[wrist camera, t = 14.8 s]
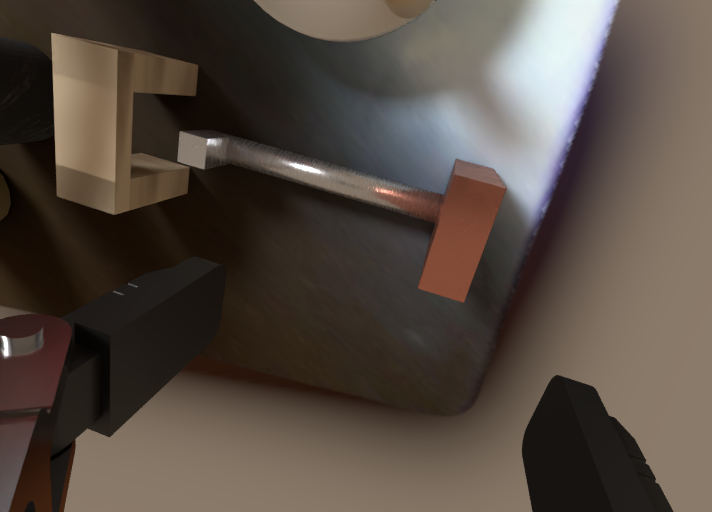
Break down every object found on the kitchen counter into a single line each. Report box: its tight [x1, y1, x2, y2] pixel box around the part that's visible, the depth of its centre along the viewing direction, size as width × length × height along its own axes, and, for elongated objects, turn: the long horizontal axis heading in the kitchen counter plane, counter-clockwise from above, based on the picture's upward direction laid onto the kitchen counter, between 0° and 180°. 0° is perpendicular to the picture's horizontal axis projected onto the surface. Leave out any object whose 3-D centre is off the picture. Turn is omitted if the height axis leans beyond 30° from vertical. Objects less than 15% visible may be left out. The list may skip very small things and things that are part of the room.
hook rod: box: [177, 129, 506, 303], centre depth 25 cm, size 18×6×7 cm, turn 76°
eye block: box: [51, 33, 198, 215], centre depth 27 cm, size 4×9×7 cm, turn 166°
